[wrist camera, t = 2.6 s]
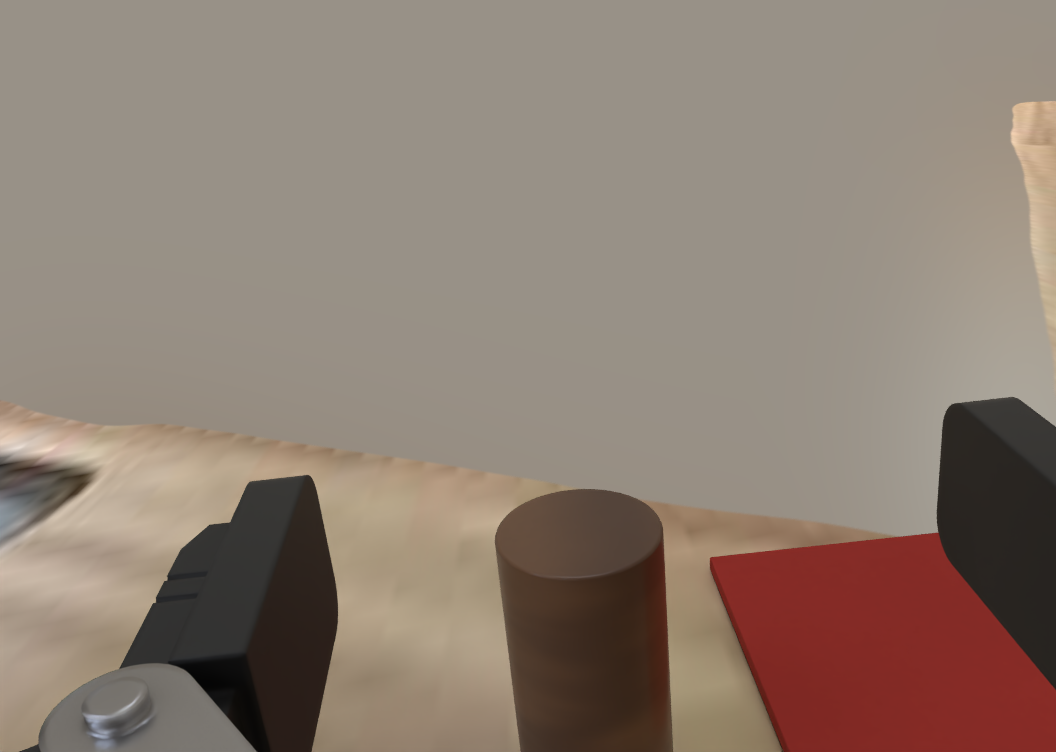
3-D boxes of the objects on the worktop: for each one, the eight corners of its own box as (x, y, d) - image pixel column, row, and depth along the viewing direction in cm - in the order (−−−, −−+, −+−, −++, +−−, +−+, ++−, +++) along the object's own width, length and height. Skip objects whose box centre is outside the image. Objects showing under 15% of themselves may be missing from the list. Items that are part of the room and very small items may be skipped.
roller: (533, 886, 27) (496, 587, 23) (525, 768, 31) (492, 497, 28) (689, 868, 27) (678, 567, 23) (661, 753, 31) (647, 480, 28)
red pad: (821, 847, 28) (821, 831, 27) (710, 569, 40) (709, 556, 40) (1377, 785, 28) (1382, 768, 28) (1089, 527, 41) (1091, 515, 40)
